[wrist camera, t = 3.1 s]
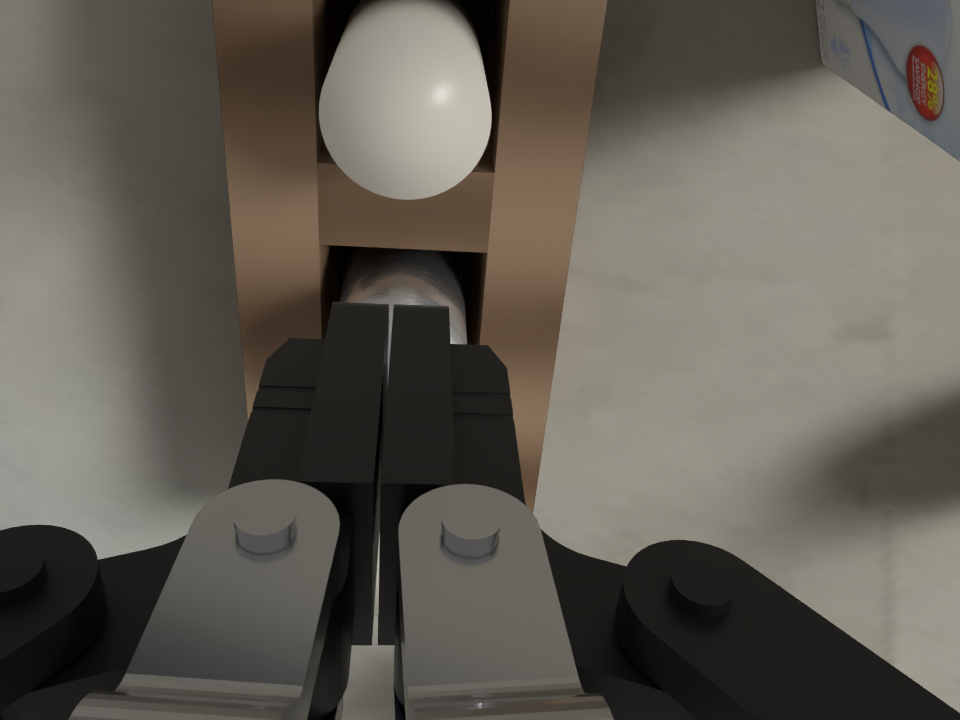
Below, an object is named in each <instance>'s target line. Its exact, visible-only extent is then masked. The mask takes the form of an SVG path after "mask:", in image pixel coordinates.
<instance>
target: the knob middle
mask: <svg viewBox="0 0 960 720" xmlns="http://www.w3.org/2000/svg"><path fill="white" fill-rule="evenodd" d="M339 302H352V303H377V304H389V345H388V374H389V361H390V347H391V334H392V320H393V307H394V304H406V305H430V306H449V317H450V344H467V332H466V316H465V300H464V284H463V275H462V271H461V267H460V265H459V263H458V260H457V259H456V257H455V256H454V254H453V253H452V252H451V251H440V250H420V249H399V248H379V247H358V248H357V249H356V250H355V251H354V253H353V254H352V255H351V257H350V259H349V261H348V263H347V266H346V270H345V274H344V280H343V285H342V290H341V296H340V301H339Z"/></svg>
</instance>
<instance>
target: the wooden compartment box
mask: <svg viewBox="0 0 960 720" xmlns="http://www.w3.org/2000/svg"><path fill="white" fill-rule="evenodd" d="M212 6H213V17H214V29H215V41H216V53H217V64H218V76H219V88H220V99H221V111H222V123H223V134H224V146H225V158H226V169H227V181H228V193H229V204H230V216H231V228H232V239H233V251H234V263H235V275H236V286H237V298H238V310H239V321H240V333H241V345H242V356H243V368H244V380H245V391H246V403H247V415H248V420H249V417H250V413H251V412H252V409H253V403H254V400H255V396H256V393H257V390H259V383H260V379H261V376H262V373H263V369H264V366H265V362H266V359H267V358H269V357H270V356H271V355H272V354H273V353H274V352H275V351H276V350H277V349H278V348H279V347H280V346H281V345H283V344H284V343H285V342H286V341H287V340H288V339H289V338H305V339H325V336H326V331H327V326H328V321H329V316H330V311H331V306H332V303H333V302H339V301H340V296H339V246H358V247H379V248H399V249H420V250H440V251H461V252H473V260H472V273H471V286H470V298H469V302H467V301H465V316H466V332H467V344H469V345H488V346H489V347H490V348H491V349H492V351H493V352H494V353H495V354H496V355H497V357H498V358H499V359H500V360H501V361H502V362H503V364H504V365H505V366H506V367H507V371H508V379H509V386H510V398H511V401H512V408H513V420H514V423H515V431H516V438H517V445H518V453H519V460H520V468H521V475H522V482H523V490H524V497H525V502H526V506H527V507H528V509H529V510H530V511H531V512H532V513H533V510H534V503H535V496H536V489H537V482H538V475H539V468H540V461H541V455H542V448H543V441H544V434H545V427H546V420H547V413H548V406H549V399H550V393H551V386H552V379H553V372H554V365H555V358H556V351H557V344H558V337H559V330H560V324H561V317H562V310H563V303H564V296H565V289H566V282H567V275H568V268H569V262H570V255H571V248H572V241H573V234H574V227H575V220H576V213H577V206H578V200H579V193H580V186H581V179H582V172H583V165H584V158H585V151H586V144H587V137H588V131H589V124H590V117H591V110H592V103H593V96H594V89H595V82H596V75H597V69H598V62H599V55H600V48H601V41H602V34H603V27H604V20H605V13H606V7H607V0H493V4H492V17H491V30H490V43H489V56H488V68H487V81H486V82H487V87H488V92H489V97H490V103H491V112H492V119H491V130H490V136H489V139H488V143H487V146H486V148H485V150H484V153H483V155H482V157H481V158H480V160H479V162H478V163H477V165H476V166H475V167H474V169H473V170H472V171H471V172H470V173H469V174H468V175H467V176H466V177H465V178H464V179H463V180H462V181H461V182H459V183H458V184H457V185H455V186H454V187H452V188H450V189H448V190H447V191H445V192H442V193H440V194H437V195H435V196H431V197H427V198H422V199H414V200H402V199H394V198H389V197H385V196H381V195H379V194H376V193H373V192H371V191H369V190H367V189H365V188H363V187H361V186H360V185H359V184H357V183H356V182H354V181H353V180H352V179H351V178H349V177H348V176H347V175H346V174H345V173H344V172H343V171H342V170H341V169H340V167H339V166H338V165H337V164H336V162H335V161H334V159H333V158H332V156H331V155H330V153H329V151H328V149H327V147H326V145H325V142H324V139H323V136H322V132H321V128H320V121H319V101H320V95H321V90H322V87H323V84H324V81H325V78H326V76H327V73H328V71H329V68H330V65H331V63H332V60H333V58H334V55H335V52H336V13H335V0H212Z"/></svg>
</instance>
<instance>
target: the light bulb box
mask: <svg viewBox="0 0 960 720" xmlns="http://www.w3.org/2000/svg"><path fill="white" fill-rule="evenodd" d="M816 11H817V22H818V31H819V43H820V52H821V59H822V63H823V64H824V66H826V67H827V68H829V69H830V70H832V71H833V72H834V73H836V74H837V75H838V76H840V77H841V78H843V79H844V80H846V81H847V82H848V83H850V84H851V85H853V86H854V87H856V88H857V89H859V90H860V91H861V92H863V93H864V94H865V95H867V96H868V97H870V98H871V99H873V100H874V101H875V102H877V103H878V104H879V105H881V106H882V107H884V108H885V109H887V110H888V111H889V112H891V113H892V114H894V115H895V116H897V117H898V118H899V119H901V120H902V121H904V122H905V123H907V124H908V125H909V126H911V127H913V128H914V129H915V130H917V131H918V132H919V133H921V134H922V135H924V136H925V137H926V138H928V139H929V140H931V141H932V142H933V143H935V144H936V145H938V146H939V147H940V148H942V149H943V150H944V151H946V152H947V153H949V154H950V155H952V156H953V157H954V158H956V159H957V160H959V161H960V0H816Z"/></svg>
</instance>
